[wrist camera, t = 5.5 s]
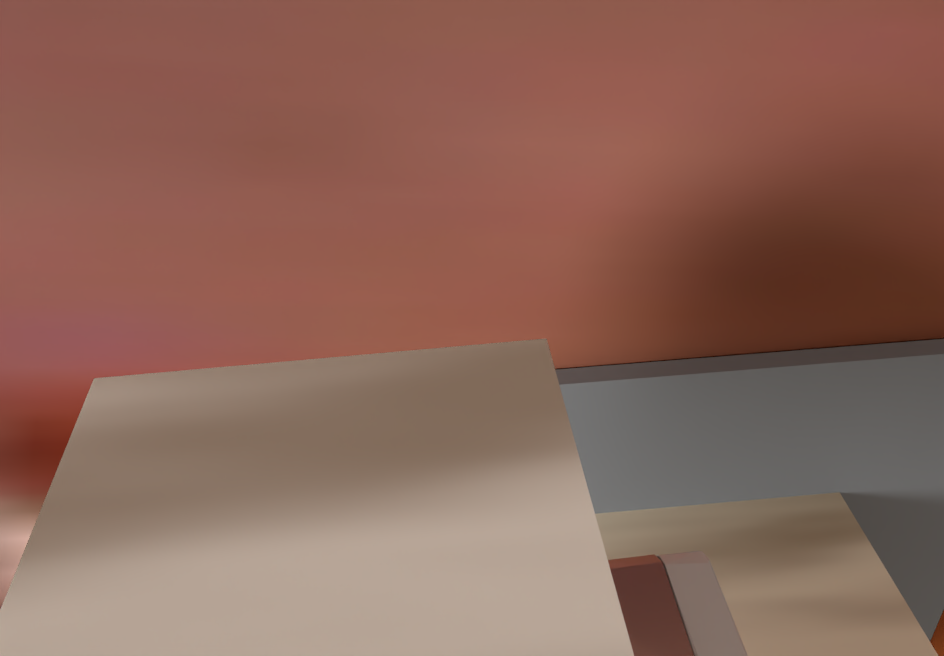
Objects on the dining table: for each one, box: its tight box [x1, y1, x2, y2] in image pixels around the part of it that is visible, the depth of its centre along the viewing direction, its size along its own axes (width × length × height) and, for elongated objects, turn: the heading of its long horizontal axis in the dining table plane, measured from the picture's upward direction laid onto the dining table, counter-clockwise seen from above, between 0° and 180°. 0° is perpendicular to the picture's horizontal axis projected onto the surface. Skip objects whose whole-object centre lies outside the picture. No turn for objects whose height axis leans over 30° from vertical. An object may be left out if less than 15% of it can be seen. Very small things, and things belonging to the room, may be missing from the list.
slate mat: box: [555, 339, 944, 641], centre depth 25 cm, size 16×16×1 cm
